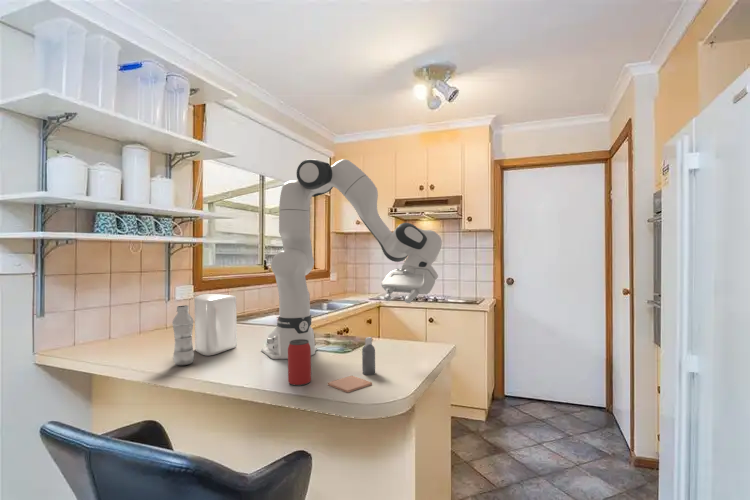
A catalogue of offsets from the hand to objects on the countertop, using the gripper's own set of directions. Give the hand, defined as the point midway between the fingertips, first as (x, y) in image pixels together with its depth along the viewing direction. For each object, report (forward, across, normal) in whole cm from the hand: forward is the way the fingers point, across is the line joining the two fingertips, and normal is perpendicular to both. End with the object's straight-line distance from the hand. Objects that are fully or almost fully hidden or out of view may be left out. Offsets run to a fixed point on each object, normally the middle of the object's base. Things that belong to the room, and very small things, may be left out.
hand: (396, 300), depth 134 cm
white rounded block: (+40, -65, -12) cm, 78 cm away
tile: (+32, +4, -2) cm, 32 cm away
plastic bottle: (+50, -52, -22) cm, 76 cm away
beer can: (+38, -8, -8) cm, 40 cm away
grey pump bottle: (+24, 0, +6) cm, 25 cm away
